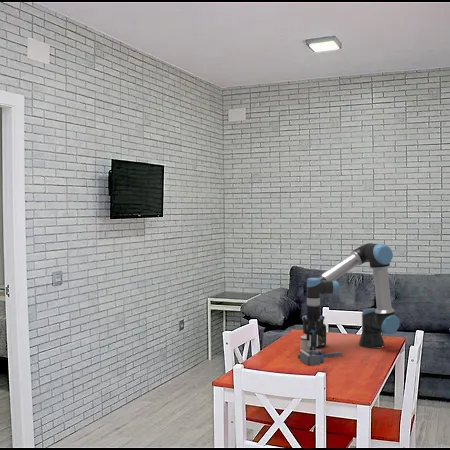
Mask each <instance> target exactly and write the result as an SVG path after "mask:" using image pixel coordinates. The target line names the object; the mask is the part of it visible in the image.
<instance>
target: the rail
mask: <svg viewBox="0 0 450 450" xmlns="http://www.w3.org/2000/svg"><path fill="white" fill-rule="evenodd" d="M322 354H323V355H324V358H335V357H336V358H337V357H338V358H339V357H343V352H342V351H339V352H337V351H336V352H322ZM296 358H297V360H300V354H297V357H296Z"/></svg>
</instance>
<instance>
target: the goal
mask: <svg viewBox="0 0 450 450" xmlns="http://www.w3.org/2000/svg"><path fill="white" fill-rule="evenodd" d="M299 355H300V359H299V361H300V362H302V363H303V364H304V365H306V366H319V365H321V363H320V355H313V351H303V350H300V351H299Z"/></svg>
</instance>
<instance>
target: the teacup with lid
mask: <svg viewBox="0 0 450 450" xmlns="http://www.w3.org/2000/svg"><path fill="white" fill-rule="evenodd" d="M299 339H300V350H303V351H307V349H310V347H309V346H308V341H307V335H306V334H304V335H301V336H300V337H299Z"/></svg>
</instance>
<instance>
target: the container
mask: <svg viewBox="0 0 450 450" xmlns="http://www.w3.org/2000/svg"><path fill="white" fill-rule="evenodd" d="M318 325H319V326H320V318H319V319H318ZM307 326H308V324H307ZM311 331H314V332H316V329H315V323H314V321H313V322H312V325H311ZM311 331H310V332H311ZM326 346H327V325H326V323H324V322H323V333H321V334H320V336H319V340H318V346H316V349H321V348H322V349H323V348H325V347H326Z"/></svg>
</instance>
